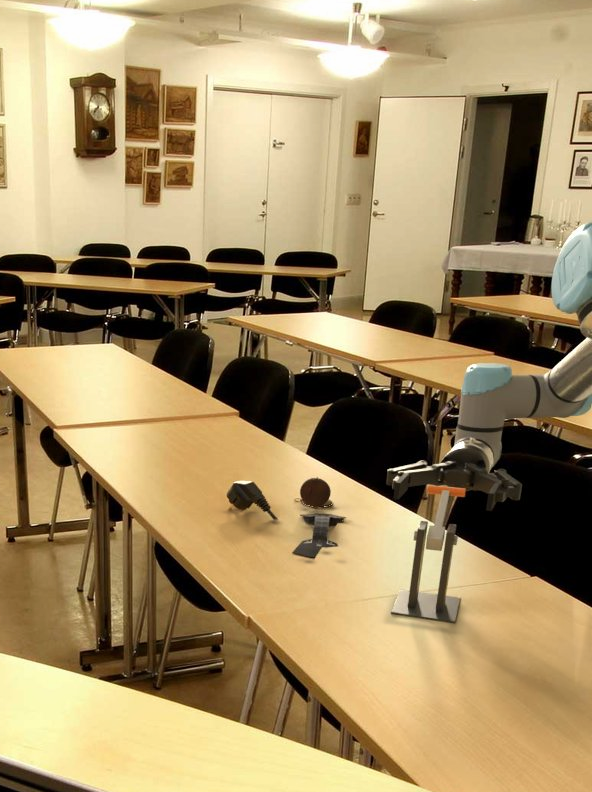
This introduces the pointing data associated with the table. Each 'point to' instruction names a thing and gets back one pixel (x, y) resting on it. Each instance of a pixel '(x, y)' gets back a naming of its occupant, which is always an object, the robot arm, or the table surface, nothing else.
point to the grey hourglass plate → (318, 534)
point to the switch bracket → (428, 603)
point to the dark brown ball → (315, 493)
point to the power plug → (247, 497)
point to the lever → (440, 515)
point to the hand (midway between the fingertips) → (442, 496)
